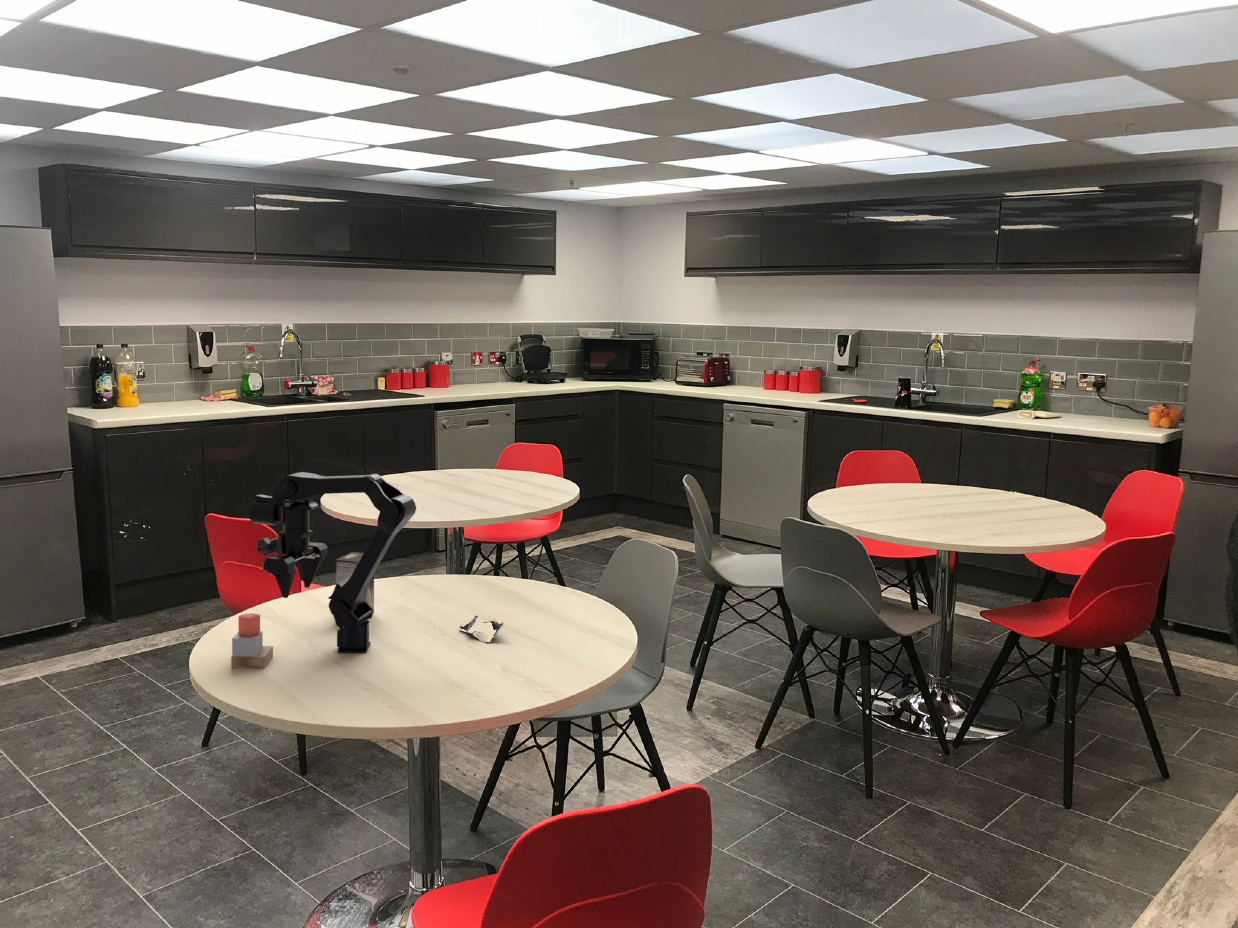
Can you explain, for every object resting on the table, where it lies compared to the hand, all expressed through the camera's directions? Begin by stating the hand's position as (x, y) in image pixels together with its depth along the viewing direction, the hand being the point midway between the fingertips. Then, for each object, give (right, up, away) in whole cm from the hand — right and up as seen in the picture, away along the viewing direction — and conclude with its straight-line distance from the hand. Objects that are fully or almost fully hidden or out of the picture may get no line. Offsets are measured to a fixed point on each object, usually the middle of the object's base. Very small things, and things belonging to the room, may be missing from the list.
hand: (296, 592), depth 217 cm
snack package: (+41, -13, +14) cm, 45 cm away
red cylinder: (-6, -7, -14) cm, 16 cm away
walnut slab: (-5, -14, -13) cm, 20 cm away
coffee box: (+7, -10, +22) cm, 25 cm away
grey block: (-6, -11, -14) cm, 19 cm away
